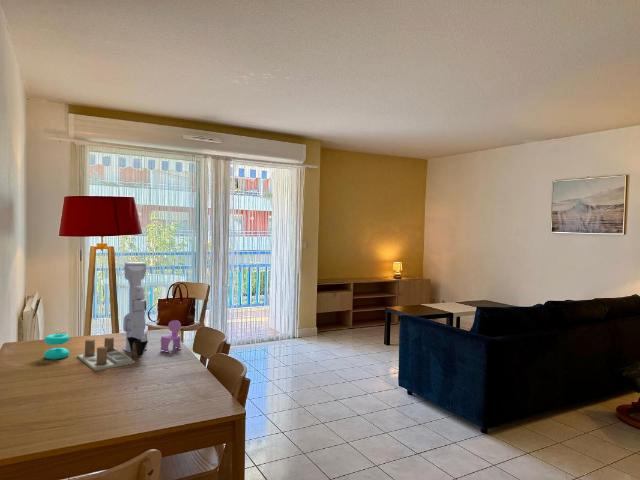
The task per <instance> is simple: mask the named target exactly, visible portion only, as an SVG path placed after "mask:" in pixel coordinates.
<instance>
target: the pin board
mask: <svg viewBox="0 0 640 480" xmlns="http://www.w3.org/2000/svg"><path fill="white" fill-rule="evenodd" d="M114 343H115V338H114V337H112V336H109V337H104V343H103V344H104V346H99V347H97V348H96V347H95V346H96V345H95V344H96V339H94V338H92V339H91V338H90V339H86V340H85V341H84V354H83V353H82V354H77V356H76V357H77V359H79V360H80V361H81V362H82V363H83V364H84V363H85V365H87V367H89V368H91V369H92V370H93V371H101V370H106V369H112V368H116V367H117V368H118V367H122V366H123V365H124V366H128V364H129V365H133V363H135V364H136V361H135V359H132V357H130V356H128V355H126V354H125V353H124V352H122V351H120V350H119V349H117V348H115V346H114V345H115V344H114ZM95 348H96V352H95Z"/></svg>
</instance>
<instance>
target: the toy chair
mask: <svg viewBox="0 0 640 480" xmlns="http://www.w3.org/2000/svg"><path fill="white" fill-rule="evenodd" d="M181 328H182V324H181V322H180V321H179V320H177V319H176V320H175V319H173V320H171V321H169V322H168V330H169V331H171V333H170V334H167V335H162V336H161V337H160V351H161V350H164V351H168V352H170V350H169V345H170V342H171V341H172V348H173V347H177V348H182V347H181V335H178V333H179V332H178V331H179V330H180V329H181Z"/></svg>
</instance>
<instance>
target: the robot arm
mask: <svg viewBox="0 0 640 480" xmlns="http://www.w3.org/2000/svg"><path fill="white" fill-rule="evenodd" d="M123 272H124V279H125V280H126V281H128V284H129V313H126V314H125V315H124V316H123V323H122V325H123V326H122V328H123V329H122V330H123V332H125V347H122V350H124V351H125V352H127V353H132V348H133V343H134V342H135V344H136V347H137V355H138V356H141V357H142V356H143V354H144V351H145V350H144V349H145V348H147V347H148V343H149V341H148V334H147V331H145V329H146V316H145V315H146V312H147V306H148V305H147V300H146V299H147V298H146V297H145V289H144V287H143V286H142V280H144V279H145V277H146V272H147V264H146V262H145V261H143V262H142V261H141V262H140V261H139V262H138V261H135V262H133V261H132V262H131V261H129V262H128V261H125V263H124V271H123ZM147 349H148V348H147Z"/></svg>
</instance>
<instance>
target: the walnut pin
mask: <svg viewBox="0 0 640 480" xmlns="http://www.w3.org/2000/svg"><path fill="white" fill-rule="evenodd" d="M131 353H132V355H131V358H140V359H142V355H141V356H138V355H137V347H136V344H135V342H134V343H133V348H132V352H131Z"/></svg>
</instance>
